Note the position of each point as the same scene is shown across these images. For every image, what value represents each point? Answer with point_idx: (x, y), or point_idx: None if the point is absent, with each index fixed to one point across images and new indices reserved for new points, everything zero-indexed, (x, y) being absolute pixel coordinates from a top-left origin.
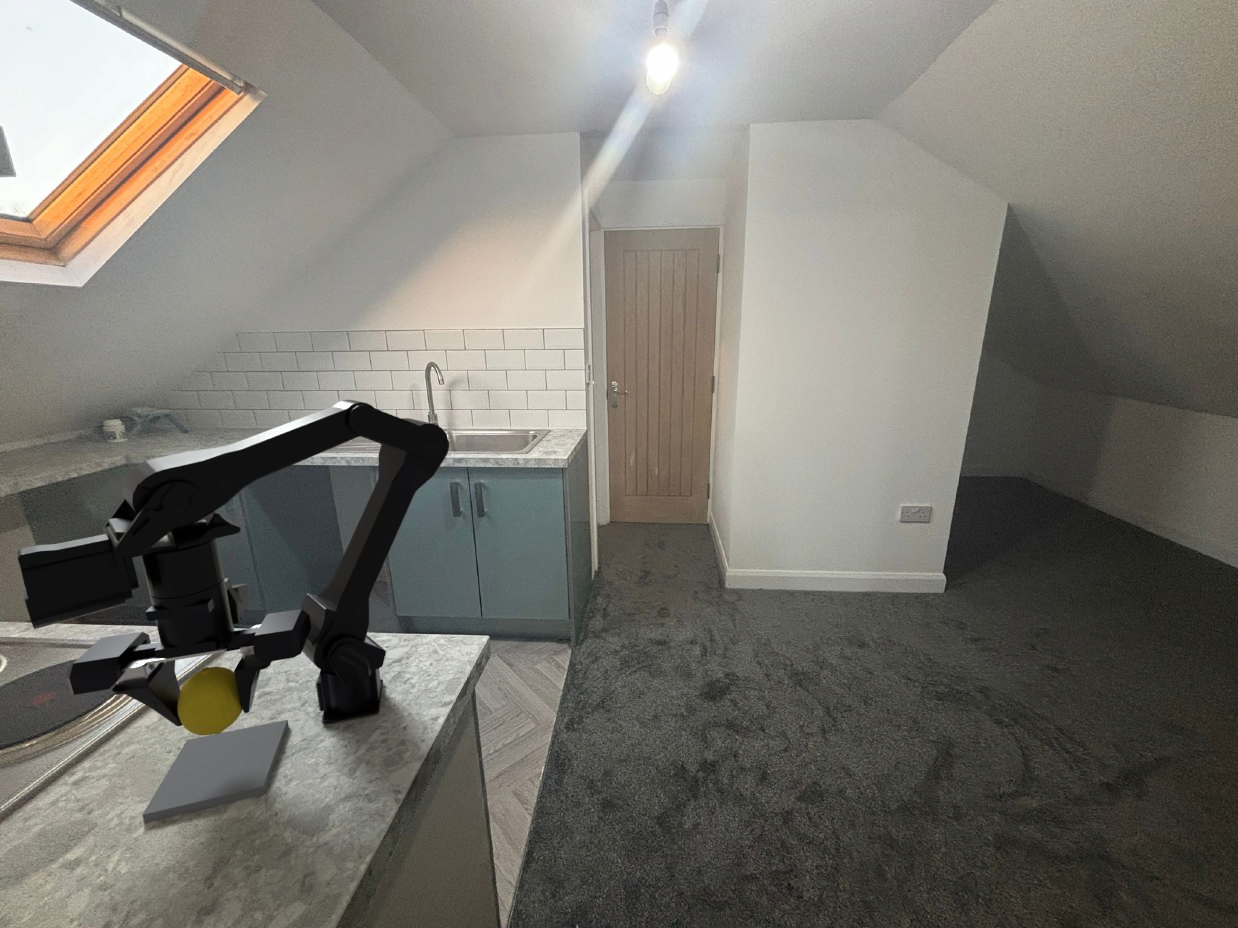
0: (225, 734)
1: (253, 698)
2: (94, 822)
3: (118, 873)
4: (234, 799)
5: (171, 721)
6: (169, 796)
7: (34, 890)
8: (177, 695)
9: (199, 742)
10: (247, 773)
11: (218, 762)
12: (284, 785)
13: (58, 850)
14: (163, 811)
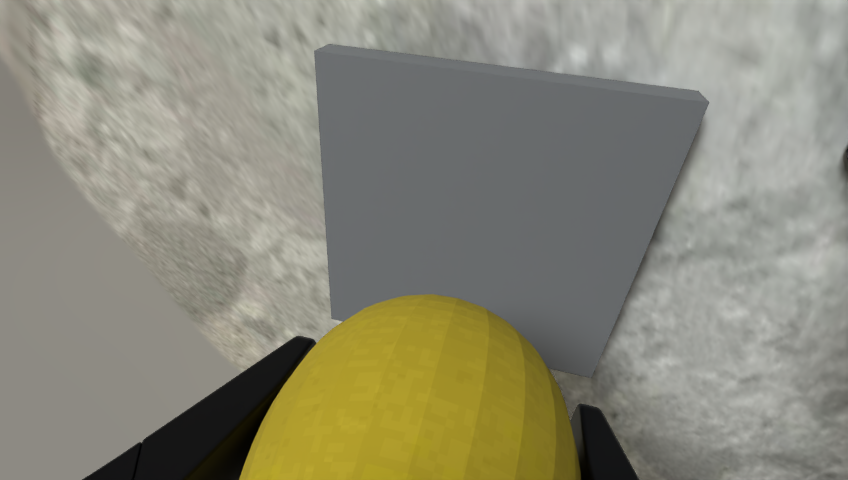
0: (450, 84)
1: (619, 447)
2: (235, 248)
3: None
4: None
5: None
6: (368, 294)
7: (237, 348)
8: (219, 477)
9: (366, 94)
10: (549, 319)
11: (459, 234)
12: (640, 356)
13: (215, 287)
14: None
